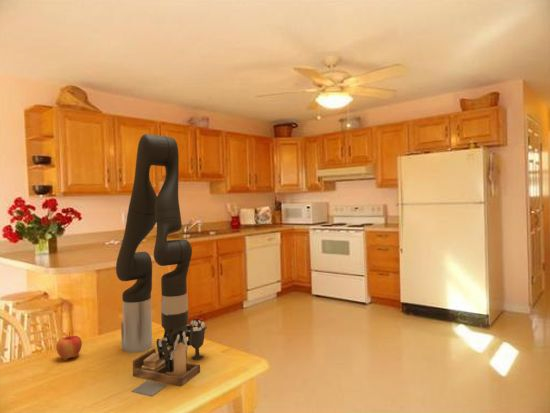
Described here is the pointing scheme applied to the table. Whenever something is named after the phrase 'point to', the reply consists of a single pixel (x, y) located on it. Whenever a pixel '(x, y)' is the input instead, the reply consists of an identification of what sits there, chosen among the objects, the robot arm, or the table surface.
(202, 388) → the table surface
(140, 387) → the coaster
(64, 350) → the apple
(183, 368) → the candle
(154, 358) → the offcut upper
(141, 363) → the tray
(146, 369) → the offcut lower
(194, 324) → the sundae
